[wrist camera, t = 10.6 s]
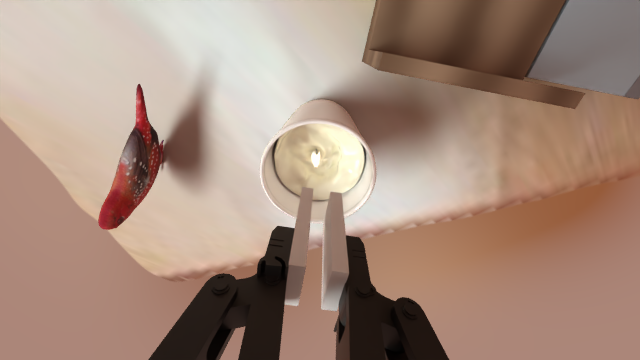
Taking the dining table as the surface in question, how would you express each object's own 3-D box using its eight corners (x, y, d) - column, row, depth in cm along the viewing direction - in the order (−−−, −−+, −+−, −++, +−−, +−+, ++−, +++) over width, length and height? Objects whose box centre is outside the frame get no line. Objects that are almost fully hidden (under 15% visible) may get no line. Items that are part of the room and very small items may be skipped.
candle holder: (266, 133, 32) (236, 179, 21) (319, 73, 28) (314, 91, 18) (322, 180, 35) (320, 240, 24) (376, 131, 31) (401, 176, 21)
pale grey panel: (527, 77, 25) (638, 99, 24) (629, -111, 18) (787, -93, 17) (521, 76, 26) (626, 97, 25) (615, -102, 20) (762, -84, 18)
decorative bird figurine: (145, 189, 36) (87, 236, 28) (161, 70, 28) (87, 82, 20) (165, 197, 37) (114, 245, 28) (187, 81, 29) (125, 98, 20)
